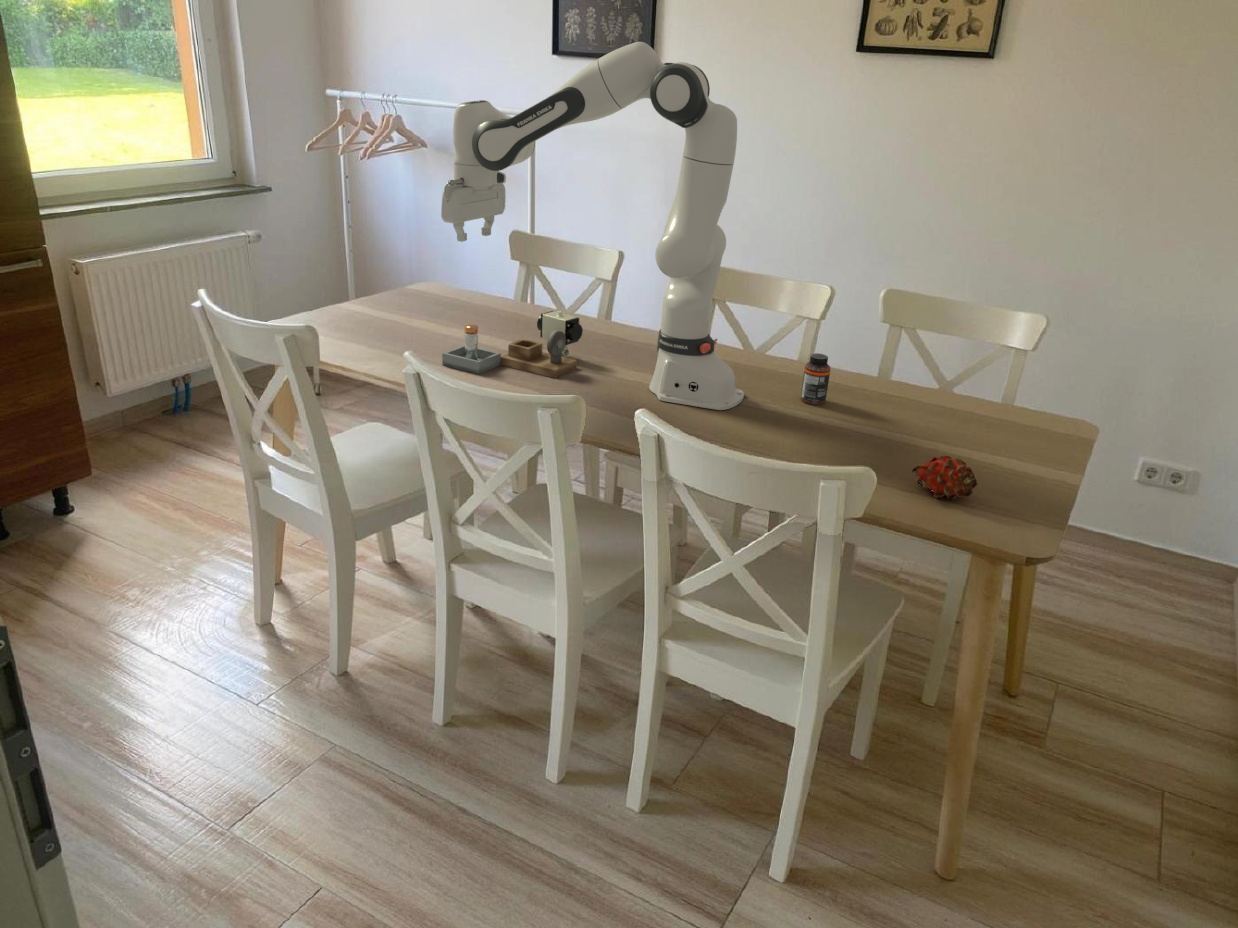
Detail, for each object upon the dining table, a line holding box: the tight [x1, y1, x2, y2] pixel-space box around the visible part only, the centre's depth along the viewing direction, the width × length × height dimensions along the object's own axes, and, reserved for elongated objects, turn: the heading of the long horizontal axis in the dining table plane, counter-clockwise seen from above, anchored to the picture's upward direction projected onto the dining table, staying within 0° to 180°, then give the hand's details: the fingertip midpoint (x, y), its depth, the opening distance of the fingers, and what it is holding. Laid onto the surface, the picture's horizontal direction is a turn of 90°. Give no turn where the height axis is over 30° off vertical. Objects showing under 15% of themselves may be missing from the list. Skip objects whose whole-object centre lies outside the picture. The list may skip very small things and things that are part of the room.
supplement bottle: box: [800, 353, 831, 406], centre depth 212 cm, size 6×6×11 cm
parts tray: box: [441, 344, 502, 375], centre depth 223 cm, size 11×9×3 cm
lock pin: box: [464, 324, 479, 361], centre depth 221 cm, size 3×3×9 cm
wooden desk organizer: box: [500, 330, 578, 379], centre depth 223 cm, size 16×10×10 cm, turn 62°
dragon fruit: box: [911, 454, 978, 500], centre depth 170 cm, size 8×8×12 cm
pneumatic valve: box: [536, 310, 583, 358], centre depth 231 cm, size 6×12×12 cm, turn 53°
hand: (474, 238), depth 211 cm, fingers open, 8 cm apart
